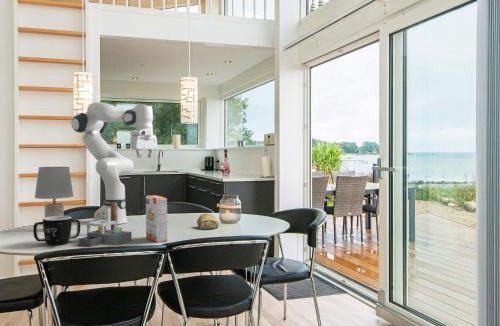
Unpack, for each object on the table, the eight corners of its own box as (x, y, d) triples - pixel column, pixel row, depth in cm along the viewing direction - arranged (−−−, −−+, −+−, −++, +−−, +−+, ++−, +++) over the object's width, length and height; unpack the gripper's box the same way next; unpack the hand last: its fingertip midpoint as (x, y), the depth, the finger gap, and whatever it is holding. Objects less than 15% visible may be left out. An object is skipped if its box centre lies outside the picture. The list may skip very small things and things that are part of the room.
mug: (29, 245, 192) (29, 219, 191) (57, 239, 207) (57, 214, 206) (57, 248, 186) (57, 221, 186) (84, 241, 201) (84, 216, 201)
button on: (112, 237, 201) (112, 228, 200) (117, 236, 204) (117, 226, 204) (118, 238, 199) (118, 228, 199) (123, 236, 203) (123, 227, 202)
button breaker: (96, 236, 204) (96, 226, 204) (101, 234, 208) (101, 225, 208) (102, 236, 203) (102, 227, 203) (107, 235, 206) (107, 226, 206)
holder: (79, 245, 193) (79, 238, 193) (90, 242, 200) (90, 235, 200) (91, 246, 191) (91, 239, 190) (102, 243, 197) (102, 237, 197)
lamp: (43, 234, 217) (43, 168, 216) (29, 229, 230) (28, 167, 229) (79, 229, 231) (79, 167, 230) (64, 225, 244) (63, 166, 243)
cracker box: (145, 237, 211) (145, 195, 210) (156, 236, 214) (156, 195, 213) (155, 243, 199) (155, 198, 198) (167, 241, 202) (167, 197, 202)
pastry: (205, 225, 249) (205, 211, 248) (223, 227, 242) (223, 213, 242) (190, 228, 236) (190, 214, 236) (209, 231, 230) (209, 216, 230)
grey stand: (86, 240, 203) (86, 223, 202) (101, 237, 212) (101, 220, 212) (117, 244, 195) (117, 225, 195) (131, 240, 205) (131, 222, 204)
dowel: (109, 233, 220) (109, 202, 220) (113, 232, 223) (113, 202, 223) (114, 234, 219) (114, 203, 219) (118, 233, 222) (118, 202, 222)
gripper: (150, 133, 245) (150, 157, 245) (128, 131, 226) (128, 157, 226) (160, 133, 243) (160, 157, 243) (138, 131, 224) (138, 158, 224)
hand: (144, 157), depth 235 cm, fingers open, 8 cm apart
